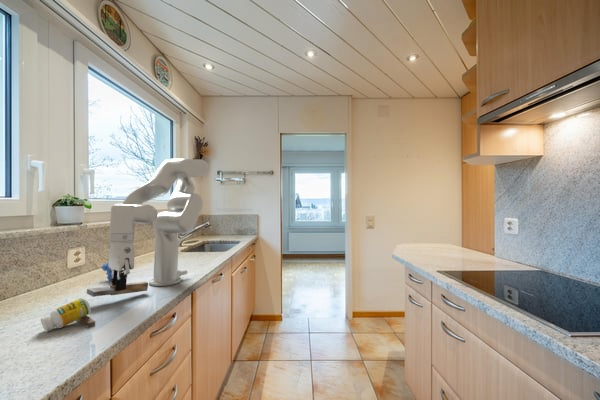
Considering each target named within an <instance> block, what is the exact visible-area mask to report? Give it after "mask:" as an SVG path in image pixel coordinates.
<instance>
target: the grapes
mask: <svg viewBox="0 0 600 400" xmlns="http://www.w3.org/2000/svg"><path fill="white" fill-rule="evenodd" d="M107 260H109V258H107ZM100 268H101V269H102V270H103V271H104V272H106V275H107V276H106V278H107V280H108V281H110V282H112V270H111V268H109V266H108V262H107V263H104V264H103V265H102V266H101V267H100Z"/></svg>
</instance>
